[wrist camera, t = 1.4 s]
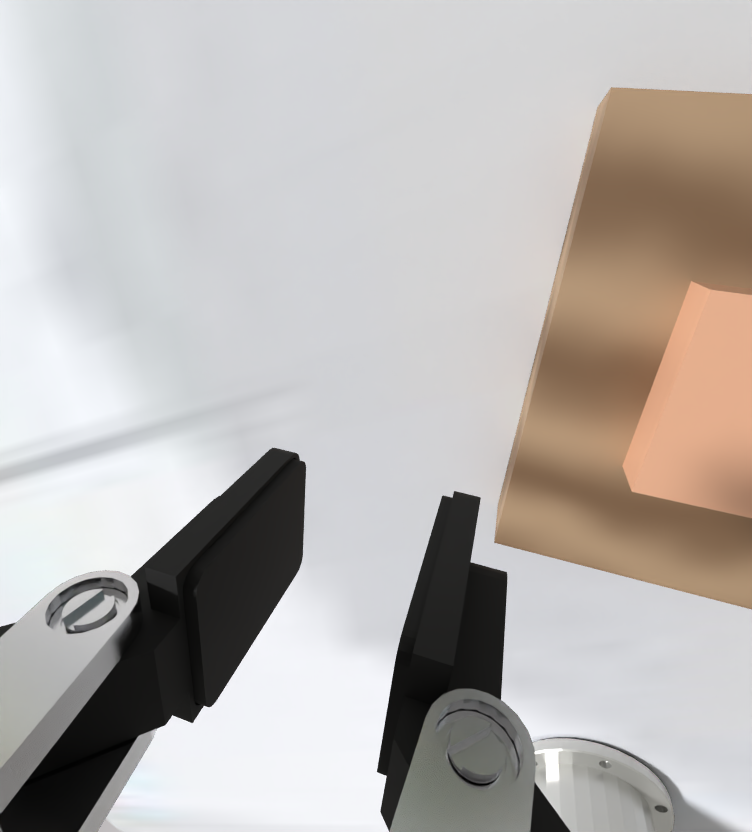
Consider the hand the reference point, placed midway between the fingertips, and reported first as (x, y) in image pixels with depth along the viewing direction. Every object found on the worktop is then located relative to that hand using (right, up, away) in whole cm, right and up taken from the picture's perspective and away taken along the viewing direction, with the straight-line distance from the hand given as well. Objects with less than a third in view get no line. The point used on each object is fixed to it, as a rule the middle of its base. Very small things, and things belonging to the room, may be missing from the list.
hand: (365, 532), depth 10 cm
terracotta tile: (+16, +3, +11) cm, 19 cm away
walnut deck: (+16, +5, +14) cm, 22 cm away
